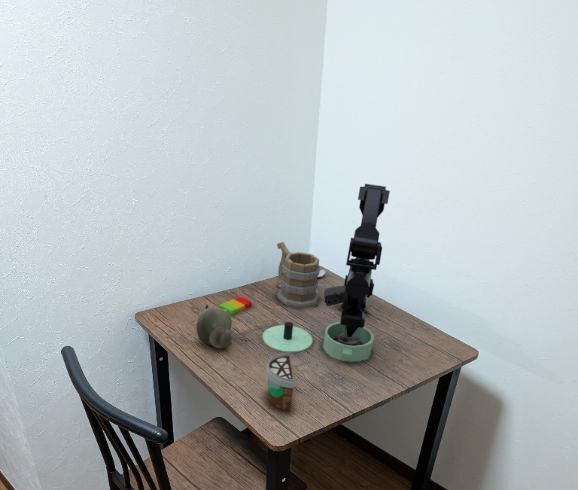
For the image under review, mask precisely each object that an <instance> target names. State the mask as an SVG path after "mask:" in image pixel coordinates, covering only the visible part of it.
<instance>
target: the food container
mask: <svg viewBox="0 0 578 490" xmlns="http://www.w3.org/2000/svg"><path fill="white" fill-rule="evenodd" d="M265 376H266V377H267V401H268V403H269V404H270V406H271V407H273V408H274V409H276V410H278V411H281V412H287V413H288V412H289V413H290V412H291V408H292V400H293V395H294V394H293V393H294V389H295V379H294V378H293V369H292V363H291V353H287V352H281V353H279V354H275V355H274V356H272V357H271V358H270V359H269V360H268V362H267V364H266V368H265Z"/></svg>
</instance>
